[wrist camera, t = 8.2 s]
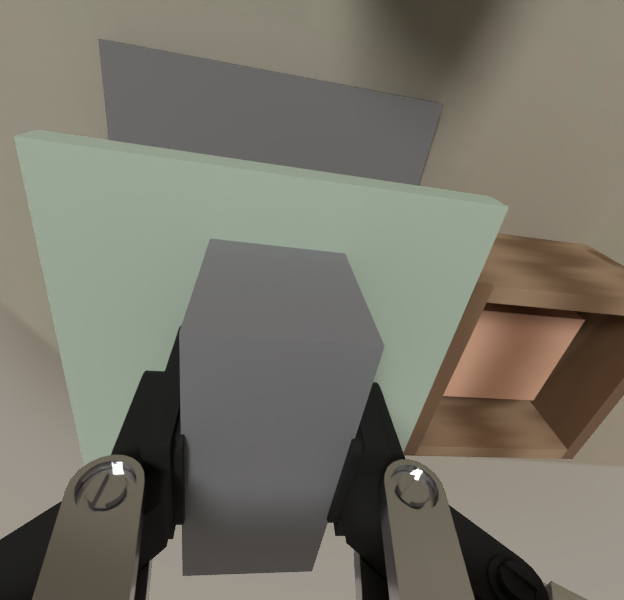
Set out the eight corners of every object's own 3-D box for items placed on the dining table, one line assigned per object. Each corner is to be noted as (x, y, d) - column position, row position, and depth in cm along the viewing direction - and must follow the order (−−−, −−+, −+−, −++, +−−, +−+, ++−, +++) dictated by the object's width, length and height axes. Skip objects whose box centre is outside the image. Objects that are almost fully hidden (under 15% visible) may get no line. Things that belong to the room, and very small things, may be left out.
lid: (470, 185, 12) (634, 279, 7) (378, 437, 18) (425, 594, 12) (61, 123, 10) (-174, 186, 5) (108, 429, 16) (28, 613, 10)
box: (586, 245, 23) (694, 306, 18) (510, 378, 29) (572, 458, 23) (419, 223, 22) (477, 284, 16) (372, 369, 27) (401, 455, 21)
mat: (438, 102, 18) (443, 104, 18) (365, 346, 26) (367, 352, 26) (103, 39, 16) (98, 39, 15) (131, 330, 23) (128, 336, 23)
